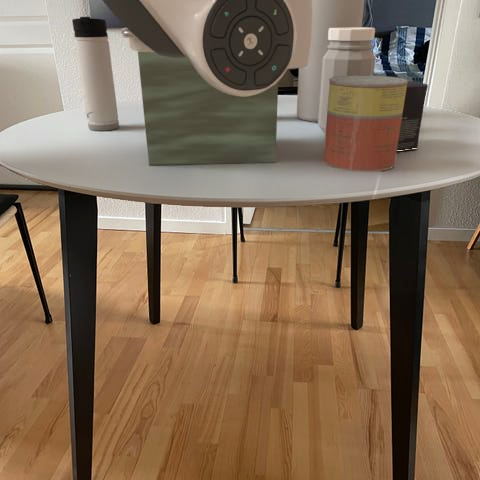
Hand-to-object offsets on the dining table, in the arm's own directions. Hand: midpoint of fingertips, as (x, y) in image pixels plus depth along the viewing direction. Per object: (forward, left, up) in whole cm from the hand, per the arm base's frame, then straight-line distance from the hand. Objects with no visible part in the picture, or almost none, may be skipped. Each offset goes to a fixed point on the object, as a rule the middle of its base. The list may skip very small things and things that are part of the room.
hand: (214, 29), depth 61 cm
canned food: (+17, +17, -19) cm, 31 cm away
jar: (+9, +41, -19) cm, 46 cm away
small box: (+19, +31, -19) cm, 41 cm away
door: (-4, +6, -19) cm, 20 cm away
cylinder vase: (+2, +54, -19) cm, 58 cm away
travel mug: (-38, +26, -19) cm, 50 cm away
